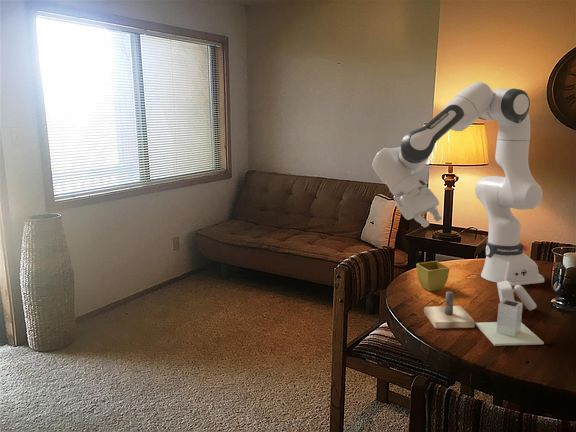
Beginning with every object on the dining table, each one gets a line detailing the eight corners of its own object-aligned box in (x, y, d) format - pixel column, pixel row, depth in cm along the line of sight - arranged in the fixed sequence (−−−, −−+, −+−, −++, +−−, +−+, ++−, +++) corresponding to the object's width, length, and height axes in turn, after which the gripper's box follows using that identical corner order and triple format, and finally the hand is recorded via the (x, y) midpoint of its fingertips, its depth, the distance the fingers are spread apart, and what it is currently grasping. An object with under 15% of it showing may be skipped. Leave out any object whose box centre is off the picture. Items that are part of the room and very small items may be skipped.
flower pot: (427, 294, 182) (428, 270, 180) (414, 286, 190) (415, 263, 188) (448, 291, 184) (450, 267, 182) (435, 283, 193) (436, 260, 191)
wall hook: (540, 313, 163) (535, 284, 161) (506, 318, 166) (500, 289, 164) (534, 303, 171) (528, 275, 169) (501, 308, 173) (496, 281, 172)
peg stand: (460, 311, 167) (462, 285, 165) (474, 327, 155) (476, 299, 153) (423, 312, 167) (425, 286, 165) (435, 328, 155) (436, 300, 153)
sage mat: (520, 323, 158) (520, 321, 157) (543, 344, 144) (543, 342, 144) (475, 324, 157) (475, 322, 157) (494, 345, 143) (494, 343, 143)
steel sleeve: (496, 332, 150) (498, 303, 148) (502, 326, 154) (504, 298, 152) (514, 337, 147) (517, 308, 145) (520, 331, 151) (522, 302, 149)
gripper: (398, 188, 160) (426, 223, 156) (426, 180, 175) (452, 211, 171) (385, 201, 163) (412, 235, 159) (414, 191, 179) (439, 222, 175)
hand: (433, 223), depth 165 cm, fingers open, 8 cm apart
